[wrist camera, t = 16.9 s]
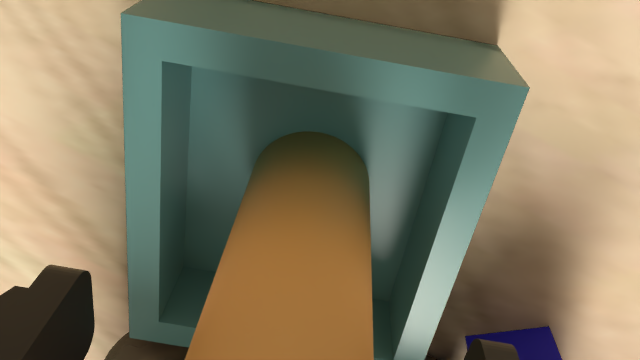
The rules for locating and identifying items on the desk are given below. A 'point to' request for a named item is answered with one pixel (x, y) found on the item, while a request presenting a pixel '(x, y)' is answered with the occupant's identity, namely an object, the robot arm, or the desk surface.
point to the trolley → (152, 350)
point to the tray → (297, 116)
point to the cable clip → (525, 342)
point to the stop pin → (295, 260)
